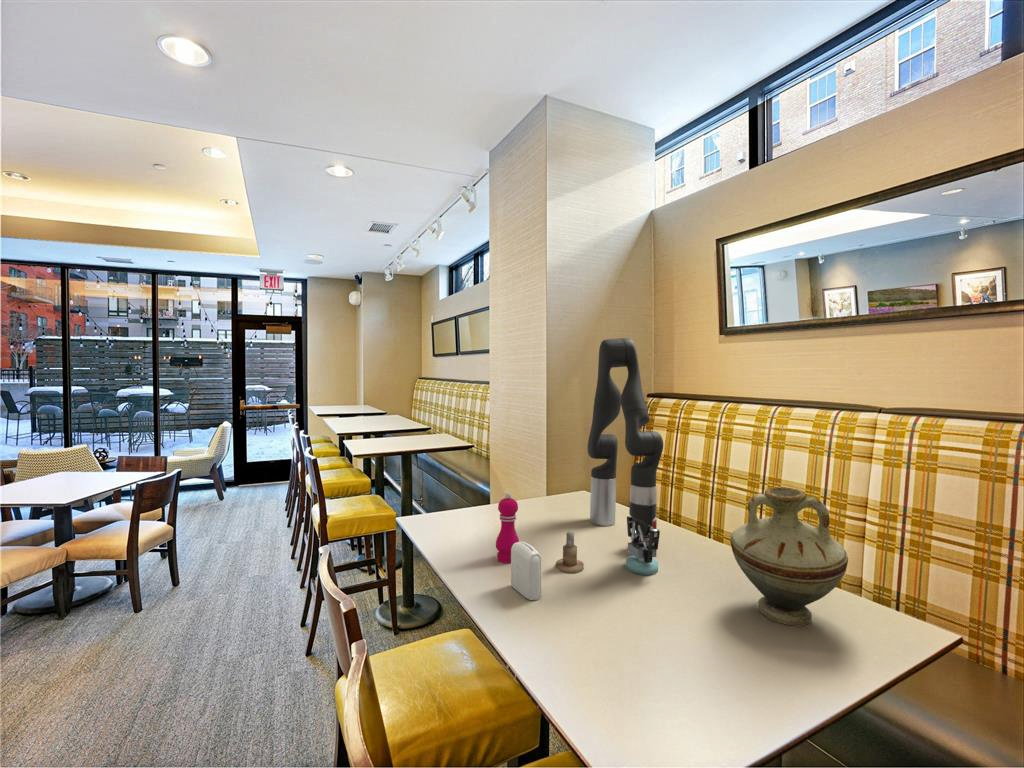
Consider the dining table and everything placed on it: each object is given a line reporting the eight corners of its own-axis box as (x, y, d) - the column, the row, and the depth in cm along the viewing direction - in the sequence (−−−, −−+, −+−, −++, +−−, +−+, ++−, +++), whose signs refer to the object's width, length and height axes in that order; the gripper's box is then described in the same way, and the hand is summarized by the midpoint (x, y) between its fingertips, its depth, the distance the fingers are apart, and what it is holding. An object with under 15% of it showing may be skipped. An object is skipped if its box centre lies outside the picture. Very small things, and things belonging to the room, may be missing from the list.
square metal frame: (627, 551, 136) (627, 542, 136) (645, 549, 137) (645, 540, 137) (638, 558, 130) (638, 550, 130) (656, 556, 132) (656, 548, 132)
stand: (551, 562, 137) (552, 529, 137) (576, 560, 139) (577, 527, 139) (562, 574, 129) (562, 539, 129) (588, 571, 131) (588, 536, 131)
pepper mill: (516, 565, 135) (517, 497, 134) (492, 562, 137) (493, 495, 136) (521, 555, 142) (522, 491, 142) (498, 553, 144) (499, 489, 143)
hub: (620, 563, 137) (620, 548, 137) (646, 560, 140) (647, 545, 139) (636, 576, 128) (636, 560, 128) (664, 573, 131) (664, 557, 131)
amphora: (710, 600, 118) (708, 485, 114) (778, 577, 126) (778, 470, 123) (795, 658, 96) (796, 519, 92) (871, 626, 104) (874, 497, 101)
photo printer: (508, 585, 122) (509, 539, 122) (522, 582, 124) (523, 536, 124) (528, 602, 113) (529, 552, 113) (543, 598, 115) (544, 549, 115)
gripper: (618, 494, 139) (617, 550, 140) (645, 508, 125) (644, 569, 126) (641, 493, 141) (639, 547, 142) (669, 506, 127) (668, 566, 128)
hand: (641, 557), depth 134 cm, fingers closed on square metal frame, 5 cm apart
